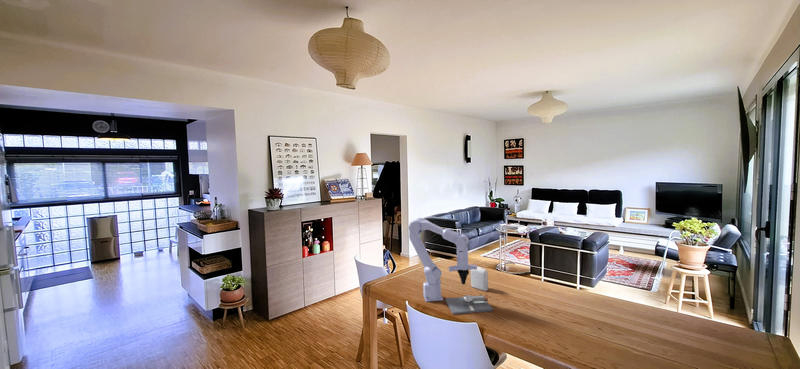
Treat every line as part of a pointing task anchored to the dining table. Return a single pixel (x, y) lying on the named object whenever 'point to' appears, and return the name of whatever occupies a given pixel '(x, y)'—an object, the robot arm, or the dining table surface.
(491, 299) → the dining table surface
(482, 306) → the lock plate
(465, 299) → the lever with ball knob
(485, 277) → the photo printer
